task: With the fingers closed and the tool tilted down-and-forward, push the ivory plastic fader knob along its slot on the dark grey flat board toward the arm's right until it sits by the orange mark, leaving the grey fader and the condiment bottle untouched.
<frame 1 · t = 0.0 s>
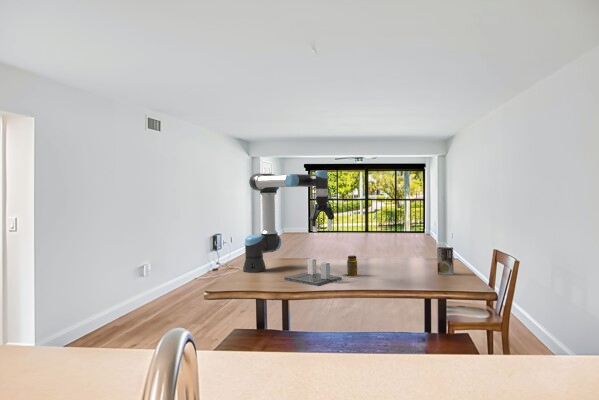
hand: (322, 230, 261), 28 cm above the table, tool pointing down, fingers open, 13 cm apart
dark grey flat board: (312, 279, 254), on the table
condiment: (351, 275, 264), on the table
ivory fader: (312, 266, 262), point 6 cm above the table, slide at 0.0 cm
coffee box: (445, 274, 264), on the table
grey fader: (325, 270, 248), point 6 cm above the table, slide at 5.0 cm
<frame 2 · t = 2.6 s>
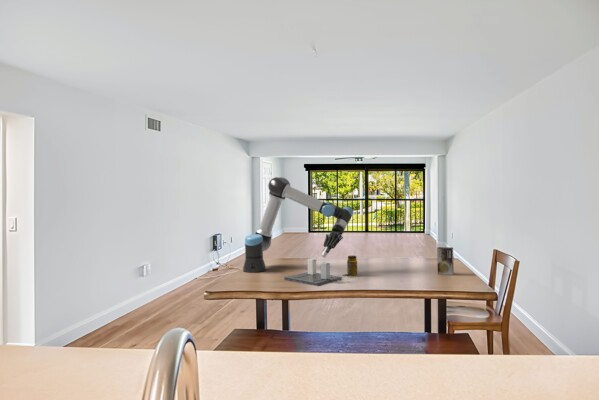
hand: (323, 256, 268), 11 cm above the table, tool tilted 45°, fingers closed
nothing on the table moved.
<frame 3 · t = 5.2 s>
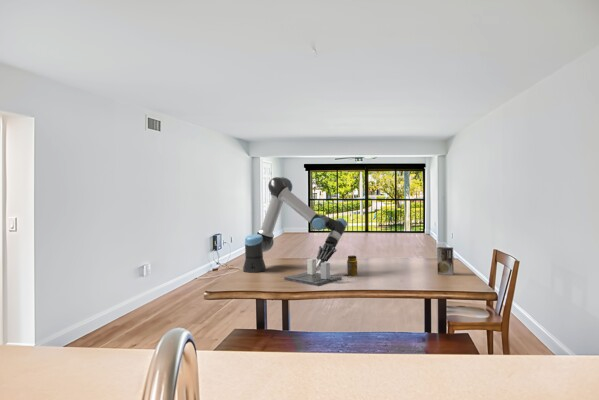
hand: (316, 269, 263), 4 cm above the table, tool tilted 45°, fingers closed
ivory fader: (311, 266, 262), point 6 cm above the table, slide at 0.3 cm, touching gripper
everything else where it was.
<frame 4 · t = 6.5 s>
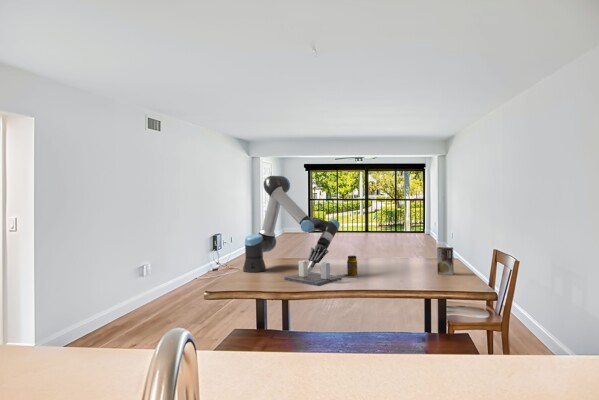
hand: (307, 271, 258), 4 cm above the table, tool tilted 45°, fingers closed
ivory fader: (303, 268, 257), point 6 cm above the table, slide at 7.9 cm, touching gripper
everything else where it was.
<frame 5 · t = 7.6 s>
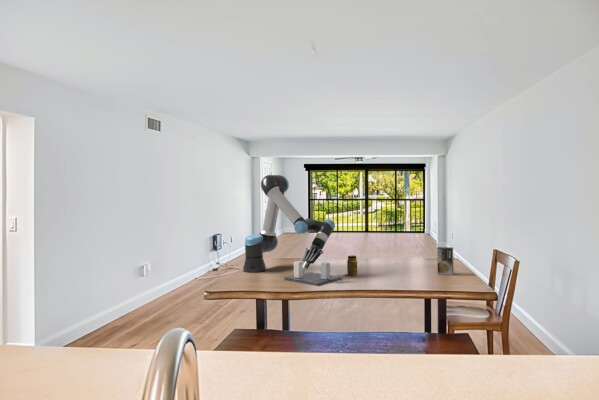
hand: (302, 271, 256), 5 cm above the table, tool tilted 45°, fingers closed
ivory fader: (298, 269, 254), point 6 cm above the table, slide at 12.0 cm
everything else where it was.
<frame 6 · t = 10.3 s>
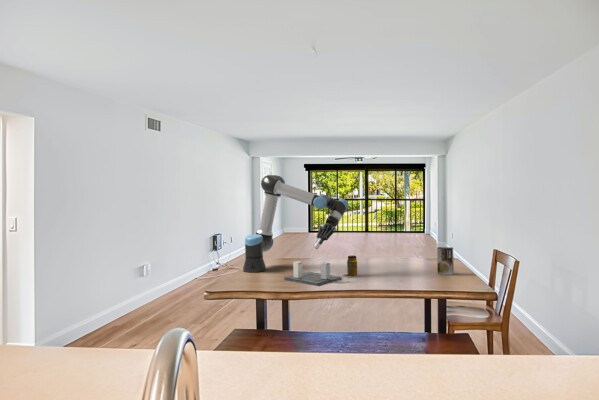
hand: (315, 247, 263), 18 cm above the table, tool tilted 45°, fingers closed
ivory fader: (297, 269, 253), point 6 cm above the table, slide at 12.4 cm
everything else where it was.
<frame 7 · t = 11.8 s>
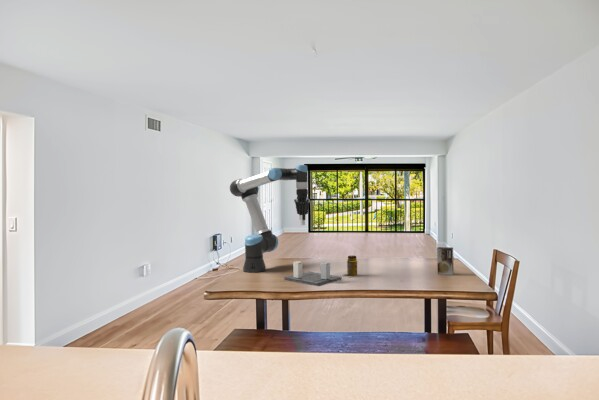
hand: (302, 224, 279), 30 cm above the table, tool pointing down, fingers closed
nothing on the table moved.
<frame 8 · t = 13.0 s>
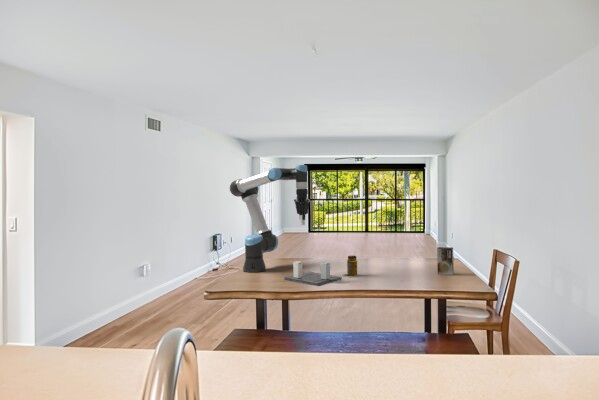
hand: (302, 224, 279), 30 cm above the table, tool pointing down, fingers closed
nothing on the table moved.
at the end: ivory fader slide at 12.4 cm; grey fader slide at 5.0 cm; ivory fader touching nothing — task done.
